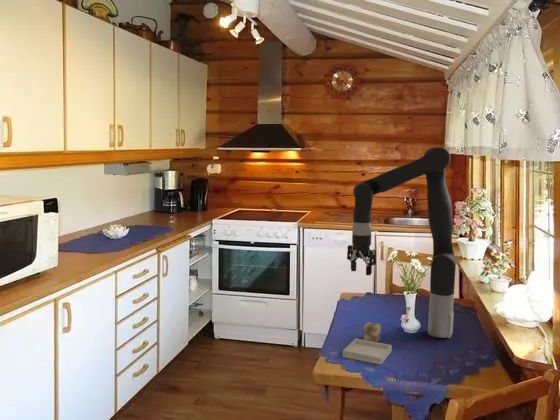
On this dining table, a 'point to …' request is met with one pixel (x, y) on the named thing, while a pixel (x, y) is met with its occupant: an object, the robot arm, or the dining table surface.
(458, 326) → the dining table surface
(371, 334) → the birch block
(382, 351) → the dish
